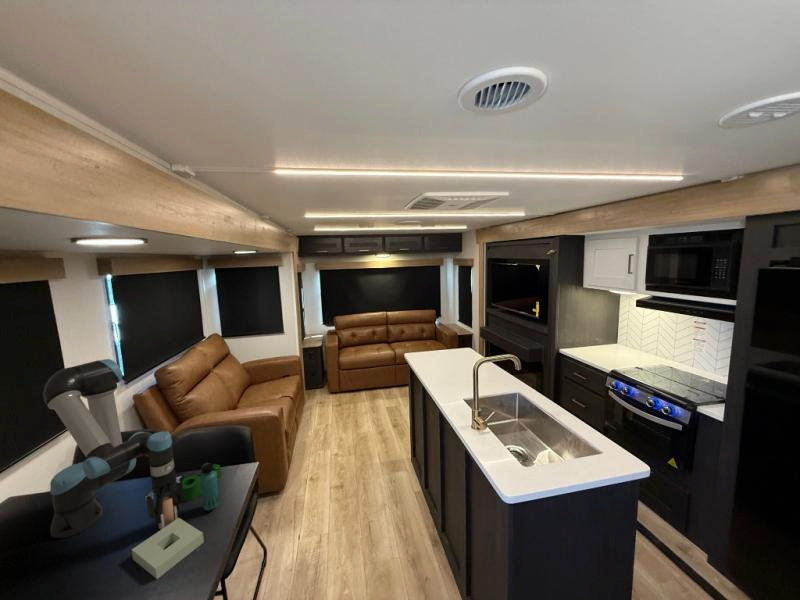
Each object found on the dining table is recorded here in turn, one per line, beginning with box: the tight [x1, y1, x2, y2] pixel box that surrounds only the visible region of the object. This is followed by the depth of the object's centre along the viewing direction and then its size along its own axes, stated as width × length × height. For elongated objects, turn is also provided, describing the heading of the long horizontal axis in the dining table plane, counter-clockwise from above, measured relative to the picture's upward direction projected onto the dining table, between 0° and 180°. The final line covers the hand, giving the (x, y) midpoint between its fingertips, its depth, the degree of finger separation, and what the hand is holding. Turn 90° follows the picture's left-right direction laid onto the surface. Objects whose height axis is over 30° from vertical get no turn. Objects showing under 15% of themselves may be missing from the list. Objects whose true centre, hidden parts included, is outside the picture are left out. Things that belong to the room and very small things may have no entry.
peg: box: [161, 495, 174, 527], centre depth 129 cm, size 4×4×12 cm
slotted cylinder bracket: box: [181, 462, 222, 502], centre depth 152 cm, size 18×9×6 cm, turn 167°
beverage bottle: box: [200, 463, 220, 511], centre depth 138 cm, size 6×7×20 cm
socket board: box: [131, 517, 204, 580], centre depth 119 cm, size 16×16×4 cm
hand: (168, 524), depth 130 cm, fingers open, 4 cm apart
